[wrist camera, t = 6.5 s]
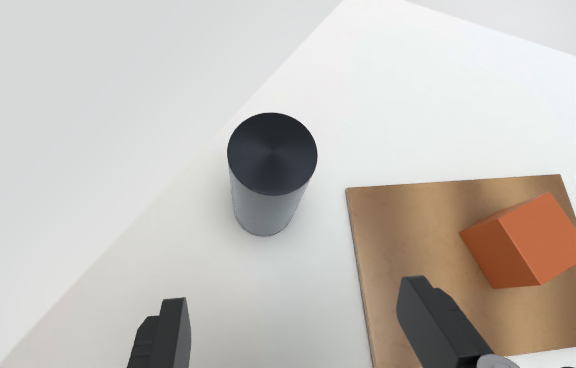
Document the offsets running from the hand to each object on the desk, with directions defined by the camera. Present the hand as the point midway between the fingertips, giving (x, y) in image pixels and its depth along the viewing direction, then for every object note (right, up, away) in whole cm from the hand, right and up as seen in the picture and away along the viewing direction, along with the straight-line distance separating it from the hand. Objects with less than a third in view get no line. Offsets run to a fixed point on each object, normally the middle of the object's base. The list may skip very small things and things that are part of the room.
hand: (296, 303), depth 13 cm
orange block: (+17, -1, +17) cm, 24 cm away
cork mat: (+15, -2, +17) cm, 22 cm away
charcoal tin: (-2, +3, +16) cm, 16 cm away
